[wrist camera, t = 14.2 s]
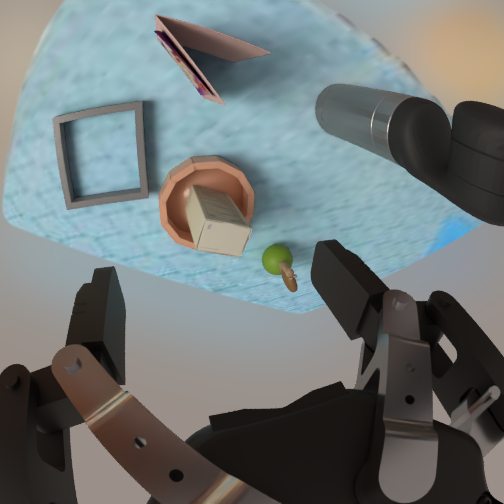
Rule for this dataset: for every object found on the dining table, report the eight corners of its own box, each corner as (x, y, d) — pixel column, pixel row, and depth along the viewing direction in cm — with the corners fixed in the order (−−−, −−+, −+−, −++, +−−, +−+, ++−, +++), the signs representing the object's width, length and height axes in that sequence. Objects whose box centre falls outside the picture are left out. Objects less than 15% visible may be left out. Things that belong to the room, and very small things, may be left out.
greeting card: (152, 43, 29) (146, 20, 17) (197, 14, 28) (218, -21, 16) (198, 102, 36) (217, 110, 24) (241, 73, 35) (282, 70, 23)
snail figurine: (280, 229, 52) (309, 268, 42) (288, 255, 56) (316, 296, 46) (252, 242, 52) (276, 285, 42) (263, 268, 55) (286, 311, 46)
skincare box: (183, 209, 44) (192, 251, 34) (192, 182, 42) (203, 217, 32) (221, 217, 46) (240, 259, 37) (230, 192, 44) (253, 228, 35)
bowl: (249, 153, 42) (256, 159, 40) (245, 233, 50) (251, 243, 47) (156, 160, 39) (155, 166, 36) (164, 242, 46) (165, 254, 44)
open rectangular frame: (143, 100, 33) (142, 101, 32) (148, 193, 41) (148, 198, 40) (57, 116, 30) (52, 117, 28) (70, 204, 38) (67, 210, 36)
